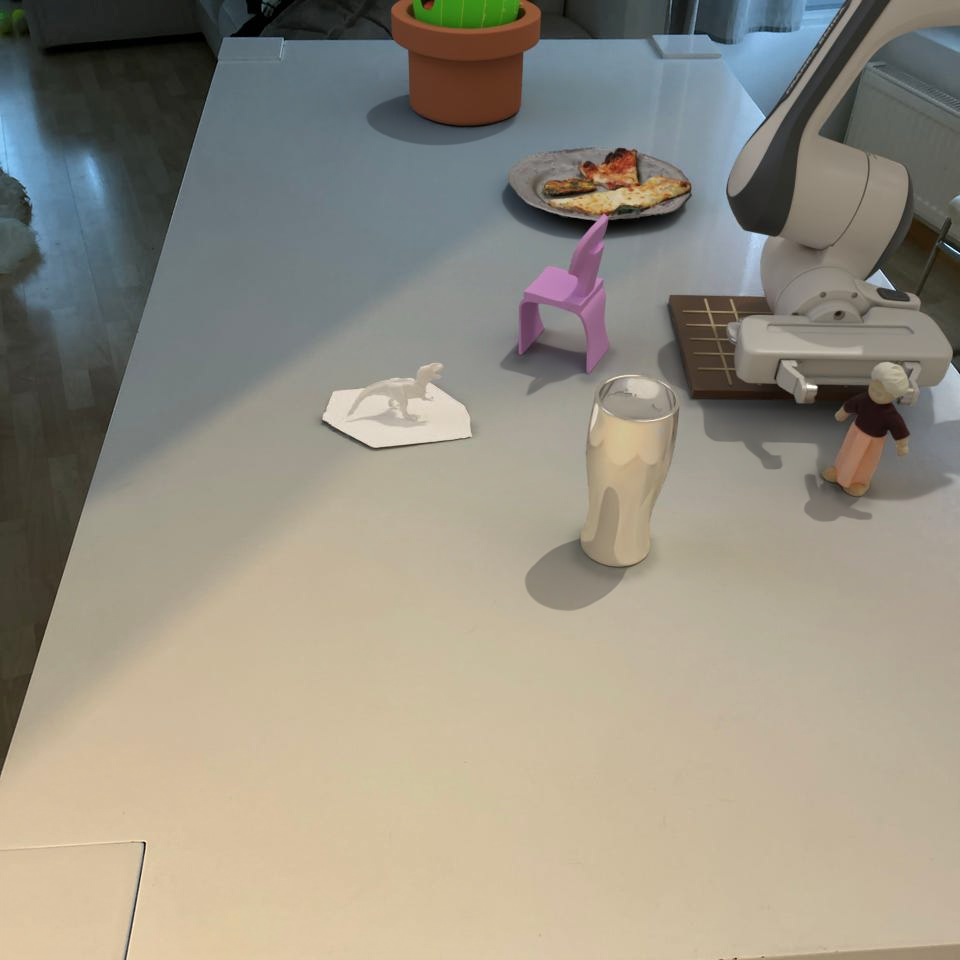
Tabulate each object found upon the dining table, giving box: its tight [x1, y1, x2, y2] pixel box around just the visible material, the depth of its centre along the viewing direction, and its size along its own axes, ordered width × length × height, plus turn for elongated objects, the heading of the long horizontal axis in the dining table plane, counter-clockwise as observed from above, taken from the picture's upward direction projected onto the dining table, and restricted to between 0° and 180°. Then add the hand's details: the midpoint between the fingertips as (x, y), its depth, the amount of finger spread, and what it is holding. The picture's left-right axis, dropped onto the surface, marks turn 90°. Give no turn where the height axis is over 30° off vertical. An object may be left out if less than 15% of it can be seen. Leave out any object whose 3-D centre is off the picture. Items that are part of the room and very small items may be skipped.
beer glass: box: [579, 373, 681, 568], centre depth 80 cm, size 7×7×15 cm
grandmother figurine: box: [821, 362, 911, 497], centre depth 88 cm, size 8×4×13 cm, turn 47°
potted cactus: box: [390, 0, 542, 127], centre depth 148 cm, size 22×22×25 cm
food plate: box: [507, 146, 693, 222], centre depth 134 cm, size 25×23×4 cm
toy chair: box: [518, 214, 611, 374], centre depth 102 cm, size 8×9×15 cm
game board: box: [668, 294, 869, 402], centre depth 108 cm, size 20×20×1 cm
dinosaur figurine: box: [322, 362, 473, 449], centre depth 97 cm, size 15×12×6 cm
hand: (858, 398), depth 91 cm, fingers open, 8 cm apart
